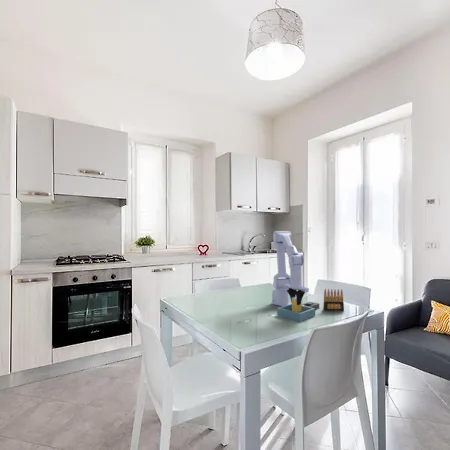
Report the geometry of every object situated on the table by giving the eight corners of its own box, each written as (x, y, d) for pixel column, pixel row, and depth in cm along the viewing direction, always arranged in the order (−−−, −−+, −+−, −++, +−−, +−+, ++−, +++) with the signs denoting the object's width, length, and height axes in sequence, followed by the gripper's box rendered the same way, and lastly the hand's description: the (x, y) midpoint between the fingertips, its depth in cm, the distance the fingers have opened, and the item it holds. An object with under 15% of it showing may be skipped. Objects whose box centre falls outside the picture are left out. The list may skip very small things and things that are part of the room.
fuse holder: (296, 310, 160) (296, 305, 160) (309, 305, 169) (309, 300, 169) (306, 312, 156) (306, 307, 156) (319, 307, 165) (319, 302, 165)
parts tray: (277, 315, 151) (277, 308, 151) (292, 310, 161) (292, 303, 161) (300, 321, 141) (300, 313, 141) (315, 315, 150) (315, 308, 150)
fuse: (291, 311, 151) (291, 297, 151) (296, 309, 153) (296, 296, 154) (296, 312, 149) (296, 298, 149) (301, 311, 151) (301, 297, 151)
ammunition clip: (324, 310, 159) (323, 289, 160) (323, 309, 161) (323, 288, 161) (344, 311, 158) (343, 289, 159) (343, 310, 160) (342, 288, 160)
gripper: (312, 278, 148) (312, 305, 147) (290, 275, 159) (290, 300, 159) (303, 280, 143) (303, 307, 143) (281, 276, 155) (281, 302, 155)
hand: (296, 303), depth 151 cm, fingers closed on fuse, 3 cm apart
